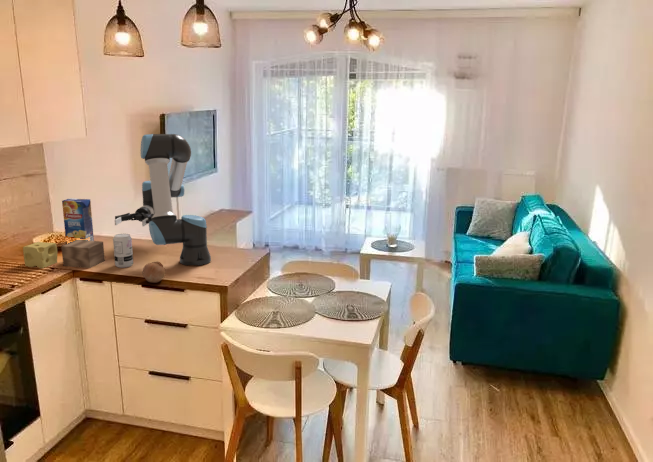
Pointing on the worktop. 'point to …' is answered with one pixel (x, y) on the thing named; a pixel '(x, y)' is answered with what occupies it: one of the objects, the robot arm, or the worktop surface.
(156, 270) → the onion
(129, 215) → the robot arm
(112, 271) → the worktop surface
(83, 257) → the walnut block
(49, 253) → the cheese
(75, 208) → the juice carton
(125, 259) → the supplement can
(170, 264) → the worktop surface
